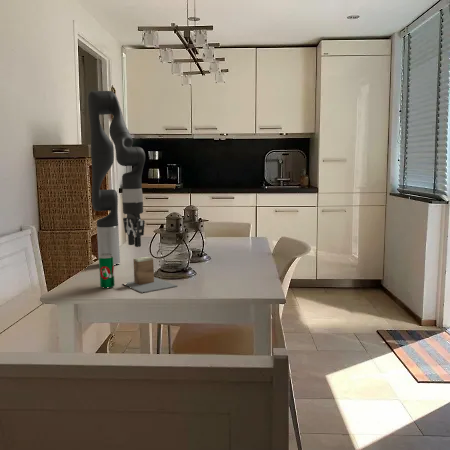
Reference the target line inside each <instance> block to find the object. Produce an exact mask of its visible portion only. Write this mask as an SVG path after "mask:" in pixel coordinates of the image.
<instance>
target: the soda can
mask: <svg viewBox="0 0 450 450" xmlns="http://www.w3.org/2000/svg"><path fill="white" fill-rule="evenodd" d="M98 269H99V270H98V271H99V285H100V288H101V287H104V288H107V287H112V288H114V287H115V285H116V283H115V266H114V261H113V256H112V254H110V253H105V254H100V257H99V258H98ZM113 286H114V287H113ZM104 288H103V289H104Z"/></svg>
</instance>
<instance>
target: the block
mask: <svg viewBox="0 0 450 450" xmlns="http://www.w3.org/2000/svg"><path fill="white" fill-rule="evenodd" d="M154 267H155V266H154V258H153V257H152V256H151V257H150V256H145V257H142V256H141V257H135V258H133V277H134V278H133V282H134V283H136V284H139V285H140V284H146V283H152V282H154V278H155V272H154V271H155V270H154Z"/></svg>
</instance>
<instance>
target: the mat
mask: <svg viewBox="0 0 450 450" xmlns="http://www.w3.org/2000/svg"><path fill="white" fill-rule="evenodd" d="M126 283H127V284H126V285H127V286H129V287H131V288H133V289H135V290H134V291H136V290H137V291H136V292H138V291H139V293H140V292H146V293H150V292H149V291H152V292H157V291H161V290H166V289H167V290H168V289H172V288H177V287H178V285H177V284H175V283H172V282H169V281H166V280H164V279H161V278H158V277H154V282H152V283H146V284H140V285H139V284H136V283H134V281H128V282H126ZM127 286H126V287H127ZM129 287H128V288H129ZM131 288H130V289H131ZM133 289H132V290H133Z"/></svg>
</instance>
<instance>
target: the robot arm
mask: <svg viewBox="0 0 450 450" xmlns="http://www.w3.org/2000/svg"><path fill="white" fill-rule="evenodd" d="M87 107H88V116H89V126H90V159H91V160H90V161H91V172H92V176H91V177H92V181H91V182H92V185H91V205H92V209H93V210H94V211H96V212H107V211H109V213H108V214H107V215H105V216H104V217H101V218H99V219H97V220H96V233H97V234H96V235H97V238H96V239H97V254H98V259H99V257H100V254H105V253H110V254H112V256H113V261H114V264H118V263H120V264H121V255H120V253H121V252H120V250H121V249H120V233H119V231H120V230H119V213H118V211H119V209H118V207H119V206H118V204H119V199H118V198H119V197H118V193H117V190H116V189H114V188H113V189H101V186H102V183H103V180H104V179H105V177H106V175H107V174H108V172H109V171H110V169H111V168H112V166H113V165H114V161H115V160H116V162H117V163H118V164H119V165H120V166H121V167H133V168H132V170H131V171H129V172H124V173H123V174H122V176H121V178H122V179H121V183H122V193H121V194H122V195H121V199H122V213H123V215H126V217H123V218H122V220H123V221H122V222H123V228H124V234H126V235H127V243H128V245H129V246H134V247H136V248H140V247H141V245H142V240H141V239H142V238H141V237H142V236H144V235H145V219H141V214H144V201H143V200H144V198H143V197H144V195H143V188H142V187H143V185H142V177H143V176H142V175H143V172H144V170H143V169H144V166H145V162H146V153H145V150H144V149H143V148H142V147H140V146H133V144H134V140H133V137H132V135H131V133H130V131H129V130H128V127H127V125H126V123H125V120H124V116H123V112H122V108H121V106H120V102H119V99H118V97H117V95H116V94H115V92H114V91H112V90H91V91H89V93H88V96H87ZM100 115H101V116H102V115H104V116H105V115H112V117H113V118H112V120H111V122H110V125H109V136H110V137H111V138H110V137H109V136H108V134H107V133H106V132H105V129H103V127H102V125H101V121H100ZM113 144H114V145H113ZM114 149H115V150H114ZM114 151H115V153H114ZM114 159H115V160H114Z"/></svg>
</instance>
